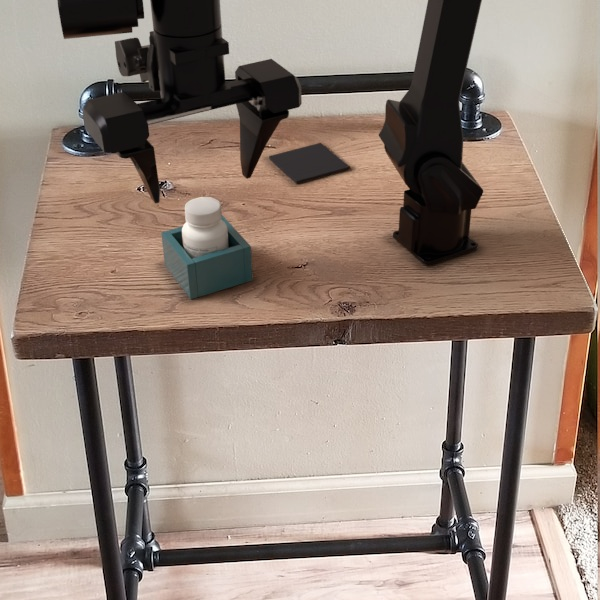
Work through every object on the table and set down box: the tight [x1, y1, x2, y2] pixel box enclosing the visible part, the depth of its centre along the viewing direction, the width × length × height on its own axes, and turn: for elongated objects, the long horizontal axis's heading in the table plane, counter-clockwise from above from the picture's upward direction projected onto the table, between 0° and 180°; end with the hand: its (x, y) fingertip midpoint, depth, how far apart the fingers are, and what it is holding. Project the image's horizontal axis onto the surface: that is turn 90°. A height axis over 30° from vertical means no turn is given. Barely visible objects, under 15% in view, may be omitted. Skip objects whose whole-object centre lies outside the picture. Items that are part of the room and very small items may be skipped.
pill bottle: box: [181, 196, 229, 259], centre depth 95 cm, size 4×4×8 cm
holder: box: [160, 214, 254, 300], centre depth 96 cm, size 7×7×4 cm
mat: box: [268, 142, 351, 185], centre depth 115 cm, size 7×7×1 cm
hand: (201, 188), depth 91 cm, fingers open, 9 cm apart
